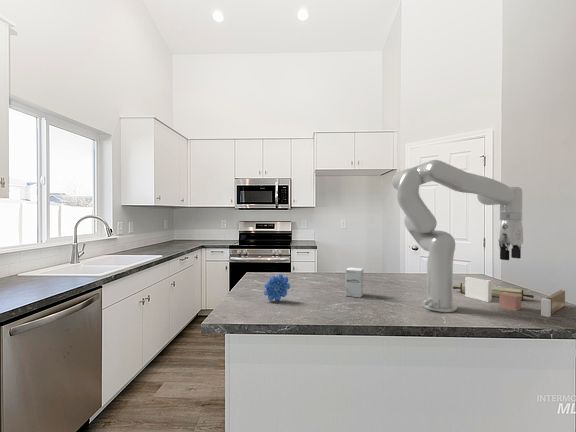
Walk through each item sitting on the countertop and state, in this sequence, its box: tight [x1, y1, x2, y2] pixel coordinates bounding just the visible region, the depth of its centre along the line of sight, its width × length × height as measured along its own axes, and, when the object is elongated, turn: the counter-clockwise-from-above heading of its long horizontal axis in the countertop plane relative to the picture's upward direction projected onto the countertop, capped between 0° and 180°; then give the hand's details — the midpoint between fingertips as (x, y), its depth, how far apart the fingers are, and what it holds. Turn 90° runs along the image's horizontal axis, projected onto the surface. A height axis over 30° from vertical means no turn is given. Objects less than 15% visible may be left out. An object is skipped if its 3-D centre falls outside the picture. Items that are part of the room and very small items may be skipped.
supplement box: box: [344, 267, 364, 299], centre depth 150 cm, size 7×7×13 cm
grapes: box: [263, 273, 291, 302], centre depth 140 cm, size 12×7×12 cm, turn 95°
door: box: [545, 289, 566, 315], centre depth 127 cm, size 2×21×6 cm, turn 127°
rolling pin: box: [453, 283, 535, 302], centre depth 148 cm, size 32×6×5 cm, turn 56°
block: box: [498, 293, 522, 312], centre depth 130 cm, size 4×6×6 cm
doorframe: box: [464, 276, 552, 318], centre depth 134 cm, size 5×33×9 cm, turn 31°
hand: (510, 258), depth 130 cm, fingers open, 9 cm apart
